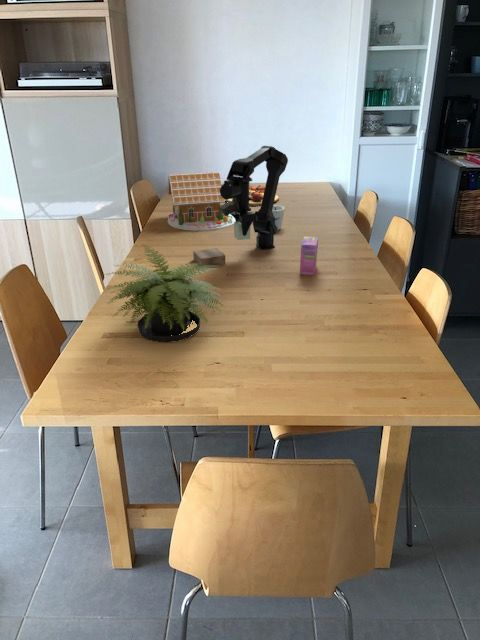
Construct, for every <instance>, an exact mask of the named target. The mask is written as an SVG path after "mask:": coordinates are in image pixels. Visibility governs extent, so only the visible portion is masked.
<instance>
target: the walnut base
mask: <svg viewBox="0 0 480 640" xmlns="http://www.w3.org/2000/svg"><path fill="white" fill-rule="evenodd" d="M192 253H193V255H192V256H193V261H194V262H195V264H197V266H200V265H201V266H203V265H204V266H205V265H206V268H209V267H210V266H211V267H213V266H214V265H215V266H216V267H218V266H223V265H226V255H225V254H224V253H223V252H222V251H221V250H220V249H218V248H217V247H214V248H207V249H199V250H193V252H192ZM209 265H210V266H209ZM201 266H200V267H201ZM207 266H208V267H207ZM215 266H214V267H215ZM200 267H199V268H200ZM211 267H210V268H211Z"/></svg>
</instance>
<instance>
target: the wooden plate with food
mask: <svg viewBox="0 0 480 640" xmlns="http://www.w3.org/2000/svg"><path fill="white" fill-rule="evenodd" d="M264 190H265V186H263V185H260V184H259V185H258V186H257V187H256V186H253V185H250V184H249V197H250V198H251V201H249V207H258V206H257V205H261V204H262V199H263V195H264ZM279 200H280V197H279V196H278V194H276V195H275V200H274V202H276V203H277V202H279ZM225 201H226V202H225V203H227V202H230V201H232V198H231V199H228V200H225Z"/></svg>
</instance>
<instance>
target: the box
mask: <svg viewBox="0 0 480 640" xmlns="http://www.w3.org/2000/svg"><path fill="white" fill-rule="evenodd" d="M318 244H319V236H308V235H304V236H303V237H302V241H301V244H300V245H301V246H300V257H299V258H300V260H299V261H300V262H299V275H304V276H315V273H316V269H317V262H318V261H317V260H318V249H319V248H318V247H319V245H318Z"/></svg>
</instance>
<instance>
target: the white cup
mask: <svg viewBox="0 0 480 640" xmlns="http://www.w3.org/2000/svg"><path fill="white" fill-rule="evenodd" d="M285 210H286V209H285V207H284V206H281V205H279V204H278V205H276V204H275V205H274V204H273V209H272V212H273V215H274V224H275V225H276V226H277V228H278V229H277V231H279V229H280V230H281V229H282V226H283V220H284V214H285Z"/></svg>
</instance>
